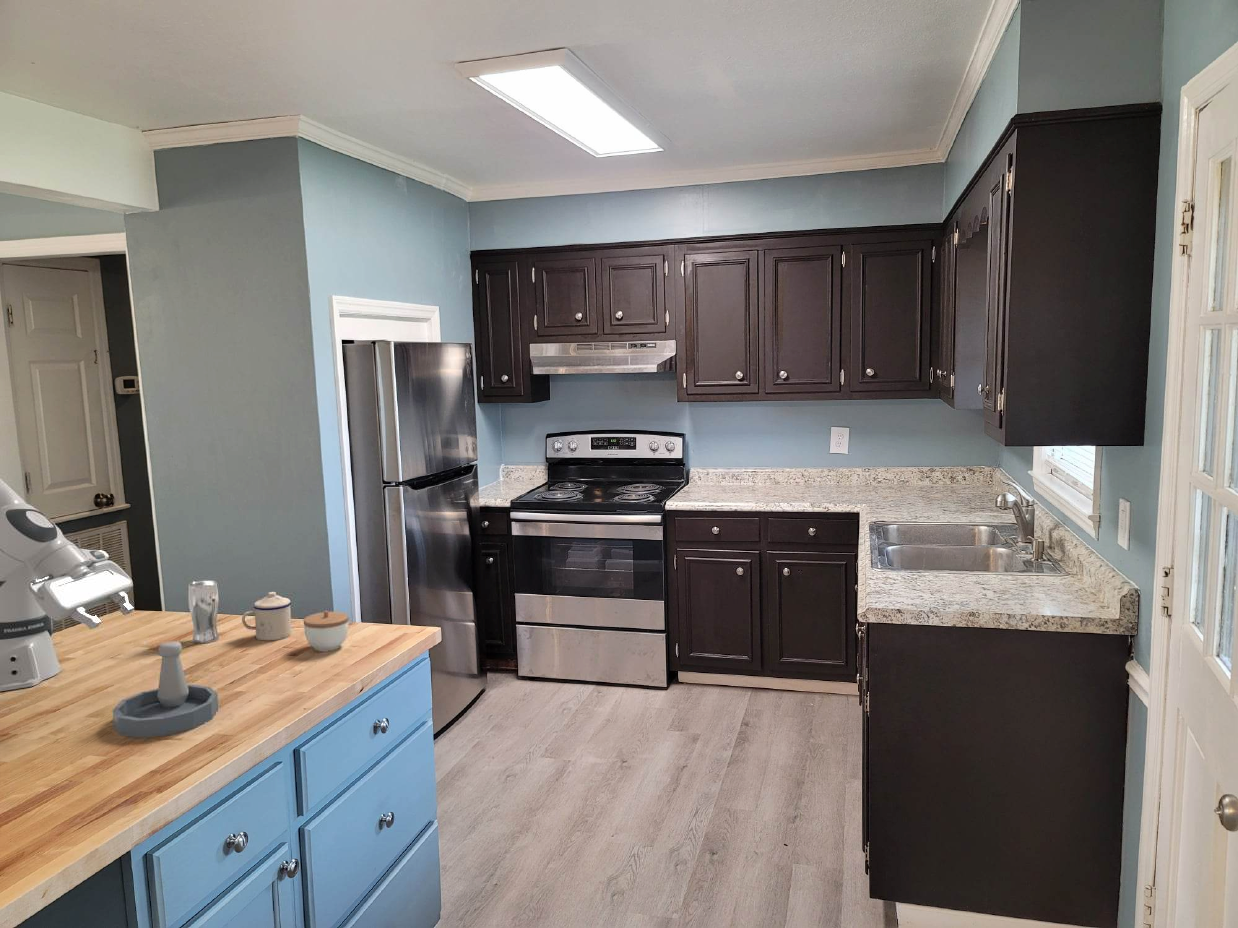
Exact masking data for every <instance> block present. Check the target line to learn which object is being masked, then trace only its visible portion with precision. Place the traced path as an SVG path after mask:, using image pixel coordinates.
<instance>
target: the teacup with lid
mask: <svg viewBox="0 0 1238 928" xmlns="http://www.w3.org/2000/svg"><path fill="white" fill-rule="evenodd" d="M291 604H292V602H291V600H290V598H287V597H282V596H280V595H278V594H277V593H276V592H275V591H271V592H270V591H269V592H268V593H267V596H265V597H263V598H261V599H259V600H257V601H256V602H254V604H253V608H254V610H248V611H246V612H245V613H243V614H242V617H241V621H242V625H243V626H244V628H246V629H247V630H251V631H253V630H255V637H256V639H258V640H260V641H264V642H265V641H278V639H279V640H282V639H285V638H288V637H290V636H291V634H292V619H291V616H292V615H291ZM253 614H254V619H255V621H254V623H255V625H254V626H253V625H252V626H251V625H249V624H247V622H246V617H247V616H249V615H253Z"/></svg>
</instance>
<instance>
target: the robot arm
mask: <svg viewBox="0 0 1238 928" xmlns="http://www.w3.org/2000/svg"><path fill="white" fill-rule="evenodd" d="M109 557H110V555H109V554H108V553H107V552H106V551H104V550H98V549H97V550H96V549H86V548H79V547H78V546H76V544H75V543H73V542H71V541H70V540H68V539H67V538H66V537H65V536H64V534H63V532H62V530H61V529H60V528H59V527H58V526H57V525H56V524H55V523H54V522H53V521H52V520H51V519H50V518H48V517H47V516H46V514H44V513H42V512H41V511H40V510H39V509H38V508H35V507H34V506H33V505H31V504H28V503H27V502H26V500H24V499H23V498H22V497H21V496H20V495H19V494H17V492H15V491H14V490H13V488H11V487H10V486H9V485H8V484H7V483H6V482H4V481H3V480H2V478H0V692H4V691H11V690H18V689H23V688H30V687H34V686H36V685H38V684H40V683H41V682H42V681H45V680H46V679H49V678H52V677H54V676H56V675H57V674H59V673H60V672H61V671H62V667H61V666H62V665H60V662H59V660H58V657H57V654H56V651H55V646H54V642H53V638H52V635H53V627H54V626H53V621H55V622H56V621H57V622H59V621H61V620H64V619H67V618H69V617H71V618H72V619H73V620H74V621H77V622H79V623H81V624H83V625H85V626H87V627H88V629H89V630H93V629H97V628H98V627H99V625H101V623H102V622H101V620H100V619H99V618H98V617H97V615H95V616H92V615H90V614H88V613H87V612H85V611H88V610H90V609H92V608H95V607H98V606H100V605H104V604H105V603H106V604H107V603H108V602H110V601H113V602H114V603H116V604H118V605H119V606H120V607H119V609H118V611H119V612H120V613H122V615H123V616H126V615H129V614H131V613H133V611H134V610H135V607H133V605H132V604H131V603H130V602H129V601H130V600H129V597H128V593H129V591H130V590H131V589H132V588H133V587H134V583H133V580H132V578H131V577H130V576H129V575H128V574H127V573H126V572H125V570H124V569H122V568H121V566H120V565H118V564H117V563H116V562H114V561H112V560H108V559H109Z"/></svg>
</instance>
